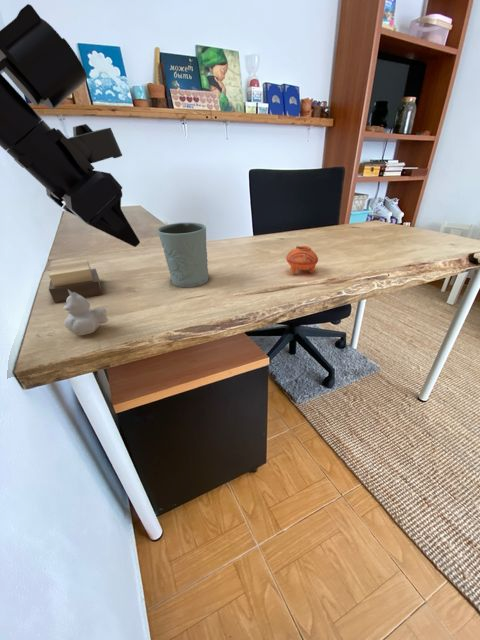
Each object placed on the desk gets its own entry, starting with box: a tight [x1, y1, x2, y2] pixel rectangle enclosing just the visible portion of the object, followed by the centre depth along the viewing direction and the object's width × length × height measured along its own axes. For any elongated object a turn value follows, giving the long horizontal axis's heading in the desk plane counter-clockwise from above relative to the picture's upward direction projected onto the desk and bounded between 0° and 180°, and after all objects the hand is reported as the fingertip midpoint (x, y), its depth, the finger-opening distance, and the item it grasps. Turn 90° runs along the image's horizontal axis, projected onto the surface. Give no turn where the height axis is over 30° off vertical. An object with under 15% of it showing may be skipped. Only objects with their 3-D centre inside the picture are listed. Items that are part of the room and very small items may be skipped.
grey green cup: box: [157, 221, 209, 288], centre depth 66 cm, size 10×10×12 cm
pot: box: [285, 245, 319, 275], centre depth 72 cm, size 8×8×7 cm
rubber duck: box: [63, 290, 109, 336], centre depth 49 cm, size 5×7×8 cm
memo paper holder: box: [48, 259, 103, 304], centre depth 64 cm, size 9×9×6 cm
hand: (127, 238), depth 46 cm, fingers open, 9 cm apart
